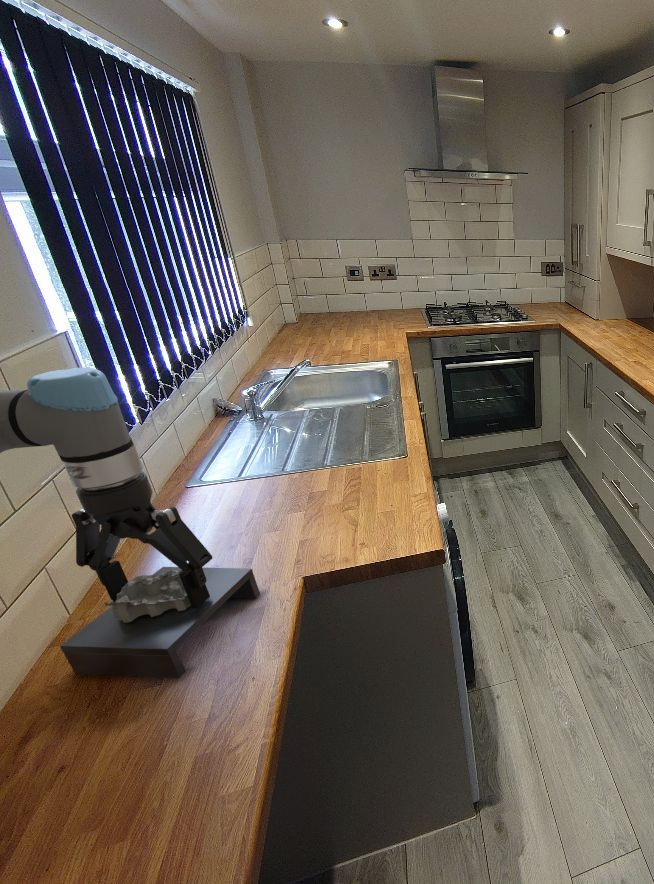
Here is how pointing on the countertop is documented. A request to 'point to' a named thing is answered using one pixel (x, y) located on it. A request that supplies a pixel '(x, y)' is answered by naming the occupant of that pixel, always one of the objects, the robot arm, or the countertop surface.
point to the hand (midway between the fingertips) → (162, 601)
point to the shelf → (152, 632)
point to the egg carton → (150, 596)
